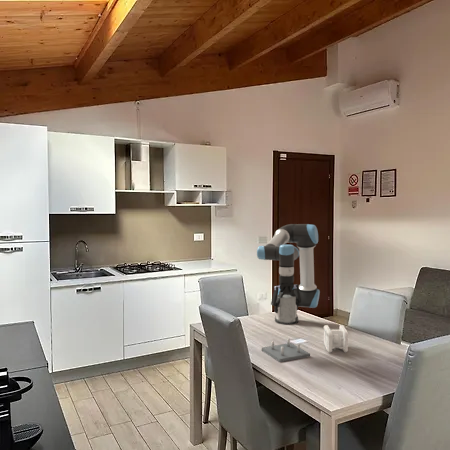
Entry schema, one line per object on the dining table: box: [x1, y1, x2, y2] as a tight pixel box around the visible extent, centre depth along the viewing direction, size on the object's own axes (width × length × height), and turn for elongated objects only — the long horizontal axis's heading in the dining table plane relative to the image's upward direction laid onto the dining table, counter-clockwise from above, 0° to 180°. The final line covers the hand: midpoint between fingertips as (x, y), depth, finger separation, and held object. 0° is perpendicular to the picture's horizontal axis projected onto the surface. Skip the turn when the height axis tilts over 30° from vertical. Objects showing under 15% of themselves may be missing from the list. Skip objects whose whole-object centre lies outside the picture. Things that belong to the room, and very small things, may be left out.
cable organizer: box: [323, 324, 349, 353], centre depth 229 cm, size 15×11×12 cm
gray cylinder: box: [277, 295, 296, 323], centre depth 223 cm, size 10×10×12 cm
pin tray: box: [261, 338, 311, 363], centre depth 223 cm, size 18×18×6 cm
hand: (286, 317), depth 223 cm, fingers closed on gray cylinder, 9 cm apart
